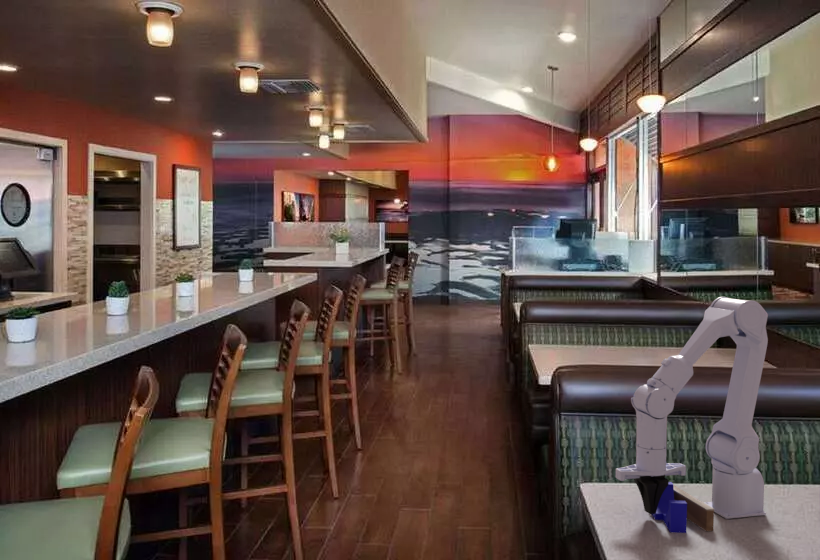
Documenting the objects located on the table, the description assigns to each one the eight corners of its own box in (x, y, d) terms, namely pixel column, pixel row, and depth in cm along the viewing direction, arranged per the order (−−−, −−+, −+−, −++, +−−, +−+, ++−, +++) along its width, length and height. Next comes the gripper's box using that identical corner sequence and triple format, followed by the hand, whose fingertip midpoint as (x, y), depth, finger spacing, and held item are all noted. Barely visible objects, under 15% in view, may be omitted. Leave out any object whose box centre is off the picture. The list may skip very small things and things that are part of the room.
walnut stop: (666, 500, 154) (667, 481, 154) (713, 530, 139) (714, 508, 138) (660, 501, 154) (660, 481, 154) (706, 531, 138) (706, 509, 138)
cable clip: (648, 509, 150) (649, 481, 150) (671, 510, 150) (671, 482, 149) (662, 533, 138) (662, 502, 138) (686, 534, 138) (687, 503, 137)
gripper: (672, 437, 149) (671, 501, 150) (608, 442, 146) (607, 507, 147) (692, 447, 142) (691, 514, 143) (626, 452, 139) (625, 521, 140)
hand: (650, 512), depth 145 cm, fingers closed
